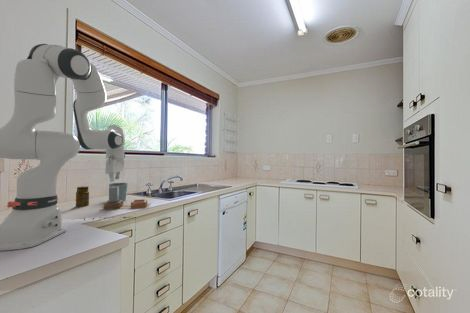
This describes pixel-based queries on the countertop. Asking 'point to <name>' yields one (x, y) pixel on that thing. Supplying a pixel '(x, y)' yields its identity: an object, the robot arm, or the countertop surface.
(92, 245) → the countertop surface
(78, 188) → the condiment
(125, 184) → the drinking glass
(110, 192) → the peg
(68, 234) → the countertop surface
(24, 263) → the countertop surface
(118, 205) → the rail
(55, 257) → the countertop surface
